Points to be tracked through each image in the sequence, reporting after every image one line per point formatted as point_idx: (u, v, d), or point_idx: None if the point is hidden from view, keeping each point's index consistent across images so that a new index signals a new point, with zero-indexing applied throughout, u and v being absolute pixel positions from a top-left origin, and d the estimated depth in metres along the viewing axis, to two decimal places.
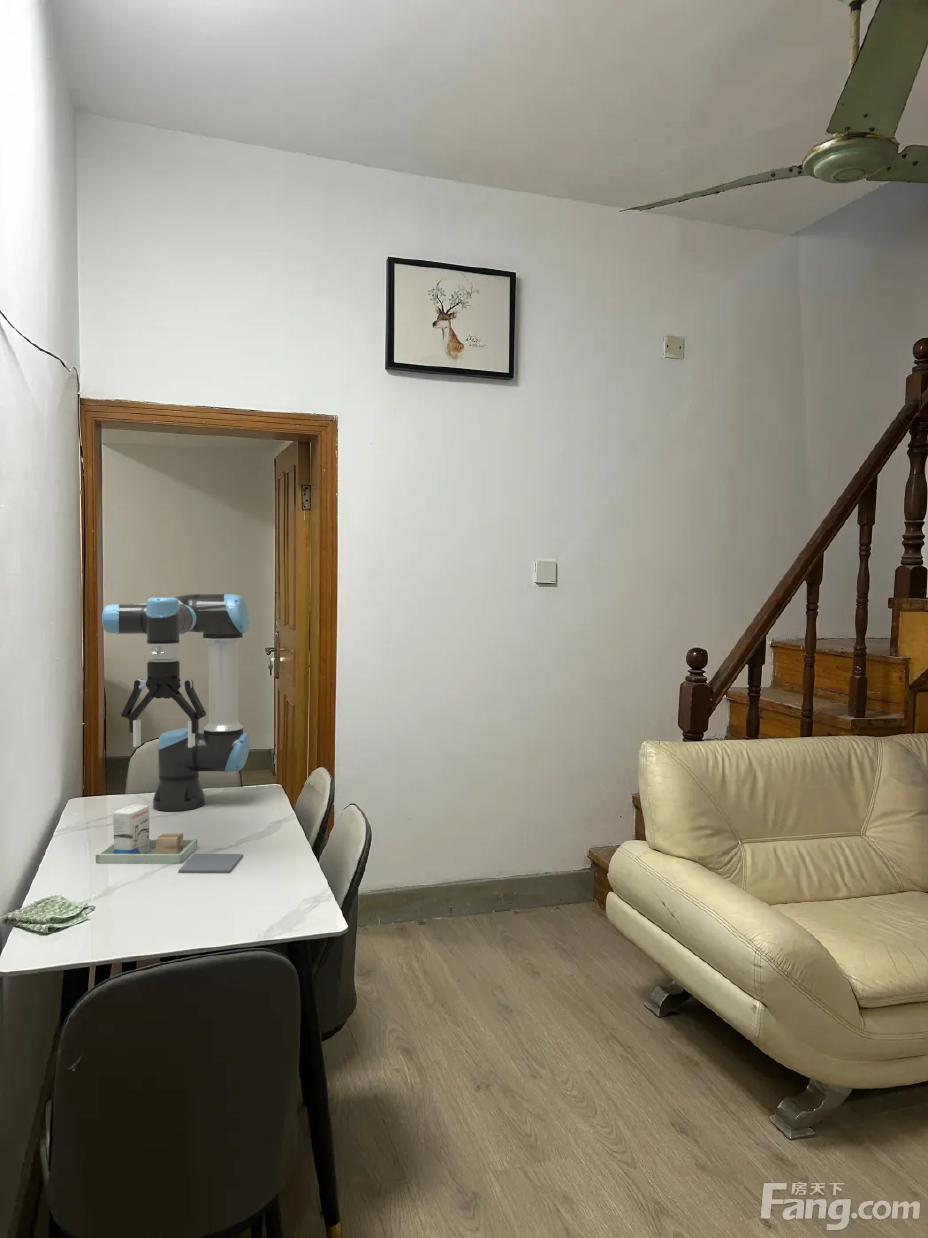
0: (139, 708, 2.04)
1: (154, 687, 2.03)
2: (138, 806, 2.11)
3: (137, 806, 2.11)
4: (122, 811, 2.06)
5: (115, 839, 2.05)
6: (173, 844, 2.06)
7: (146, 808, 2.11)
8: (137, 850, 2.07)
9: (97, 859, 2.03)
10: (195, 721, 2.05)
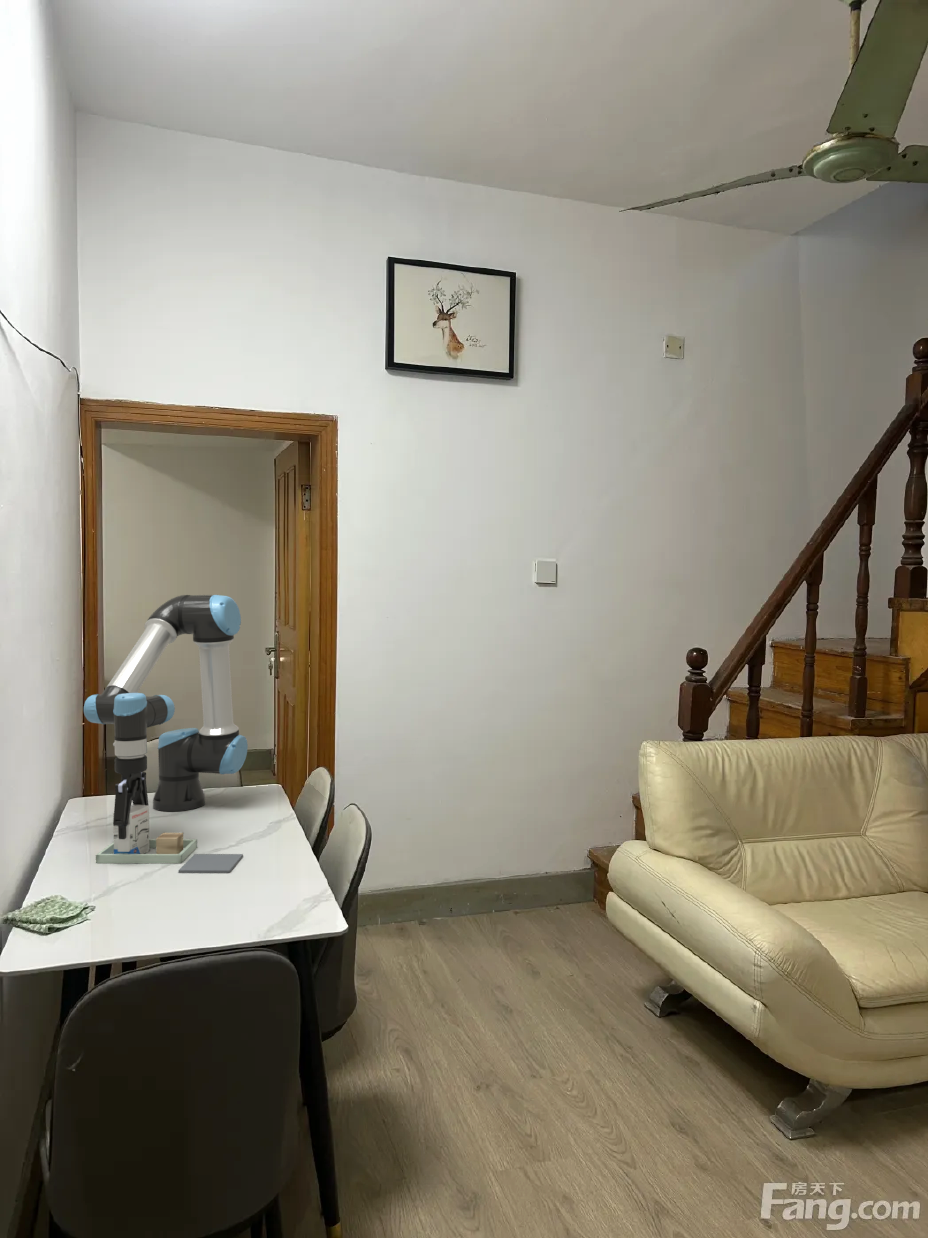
0: None
1: None
2: (138, 806, 2.11)
3: (137, 806, 2.11)
4: None
5: (115, 839, 2.05)
6: (173, 844, 2.06)
7: (146, 808, 2.11)
8: (137, 849, 2.07)
9: (97, 859, 2.03)
10: None
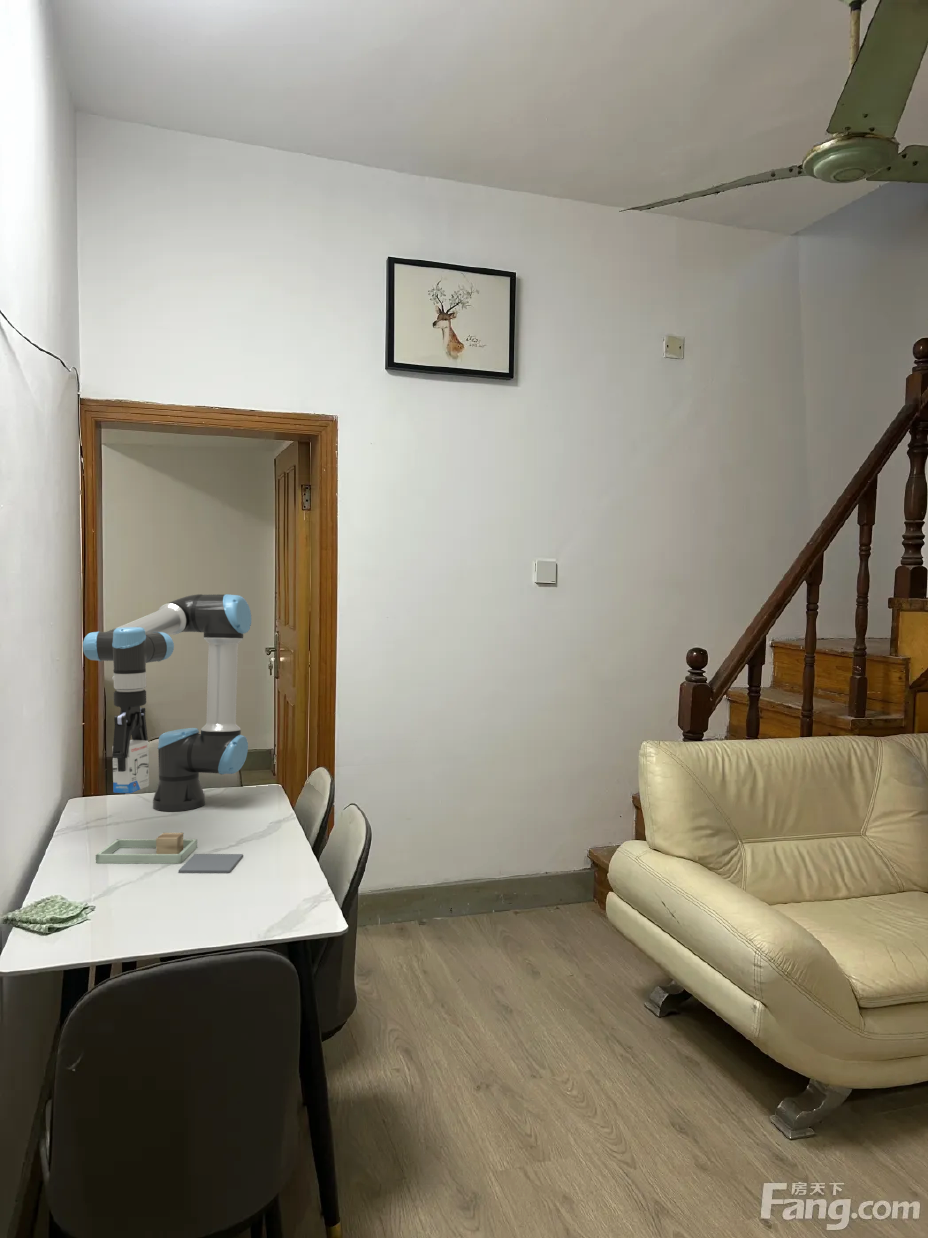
0: None
1: None
2: (137, 741, 2.10)
3: (136, 741, 2.10)
4: None
5: (114, 772, 2.04)
6: (173, 844, 2.06)
7: (145, 743, 2.10)
8: (137, 783, 2.07)
9: (97, 859, 2.03)
10: None
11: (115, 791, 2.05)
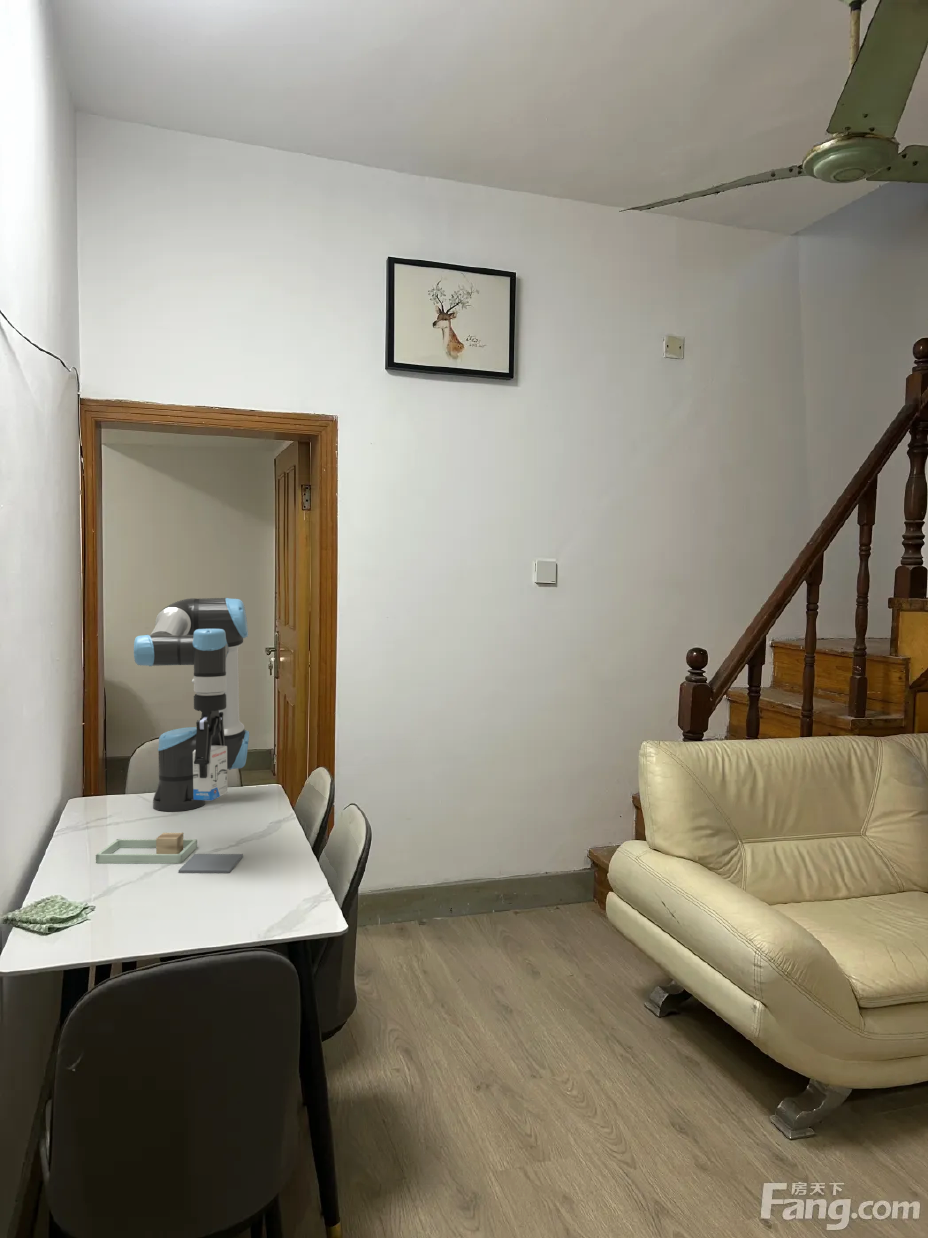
0: None
1: None
2: (216, 746, 2.03)
3: (215, 746, 2.03)
4: None
5: (195, 778, 1.97)
6: (173, 844, 2.06)
7: (224, 748, 2.03)
8: (217, 790, 2.00)
9: (97, 859, 2.03)
10: None
11: (195, 798, 1.98)
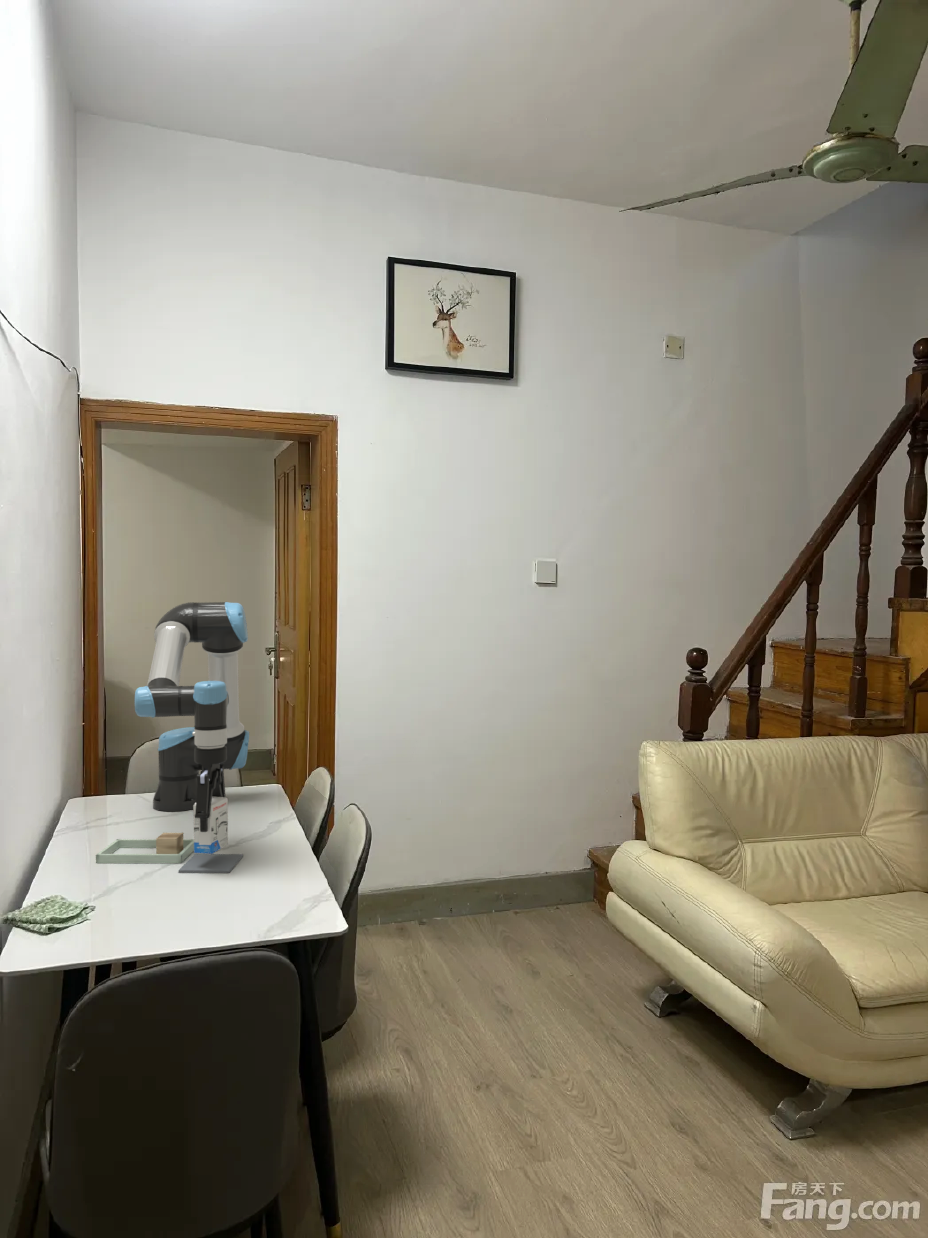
0: None
1: None
2: (217, 798, 2.04)
3: (216, 798, 2.04)
4: None
5: (195, 832, 1.98)
6: (173, 844, 2.06)
7: (225, 800, 2.04)
8: (218, 843, 2.00)
9: (97, 859, 2.03)
10: None
11: (196, 851, 1.98)
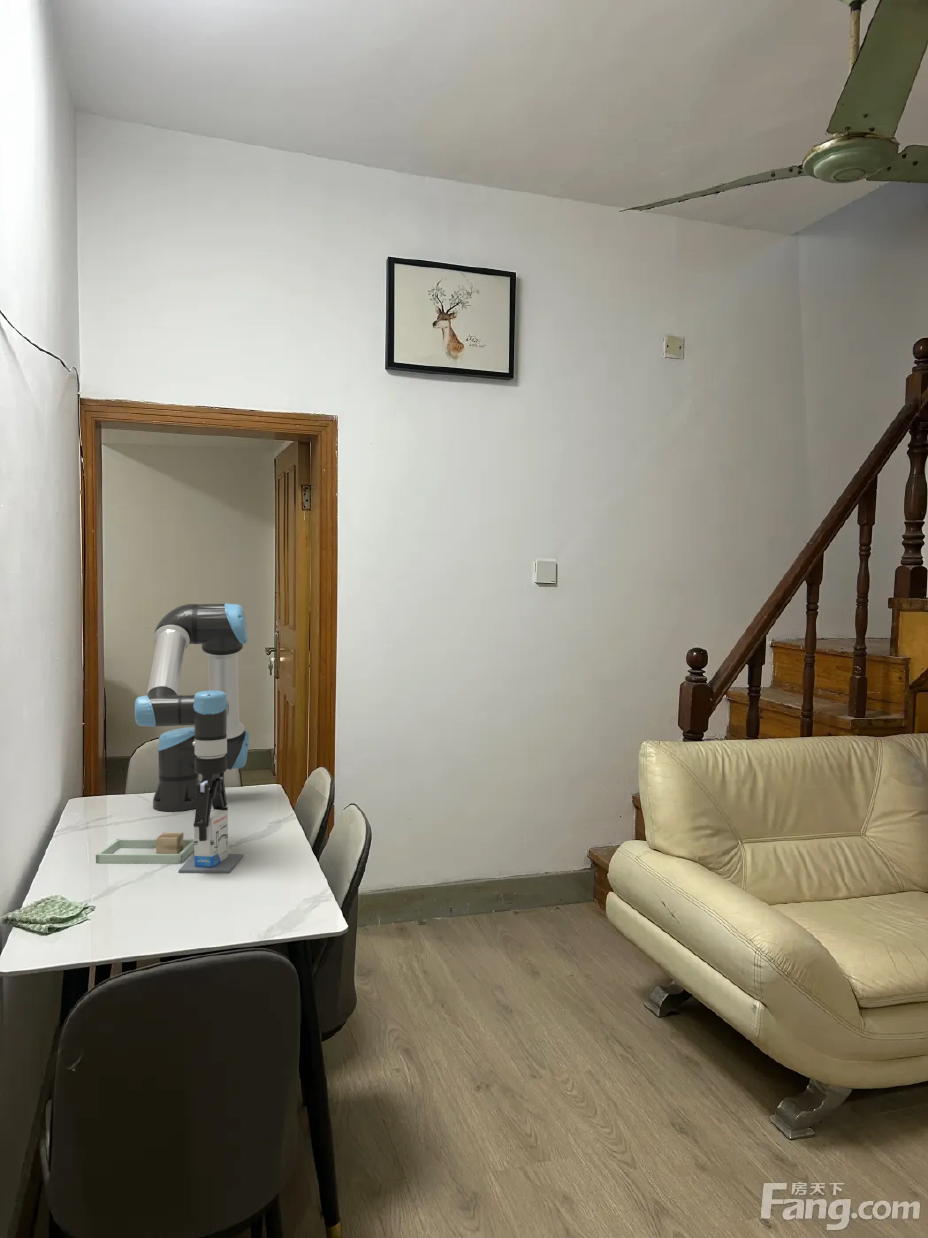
0: None
1: None
2: (217, 811, 2.04)
3: (216, 811, 2.04)
4: None
5: (196, 845, 1.98)
6: (173, 844, 2.06)
7: (225, 813, 2.04)
8: (218, 856, 2.01)
9: (97, 859, 2.03)
10: None
11: (196, 865, 1.98)
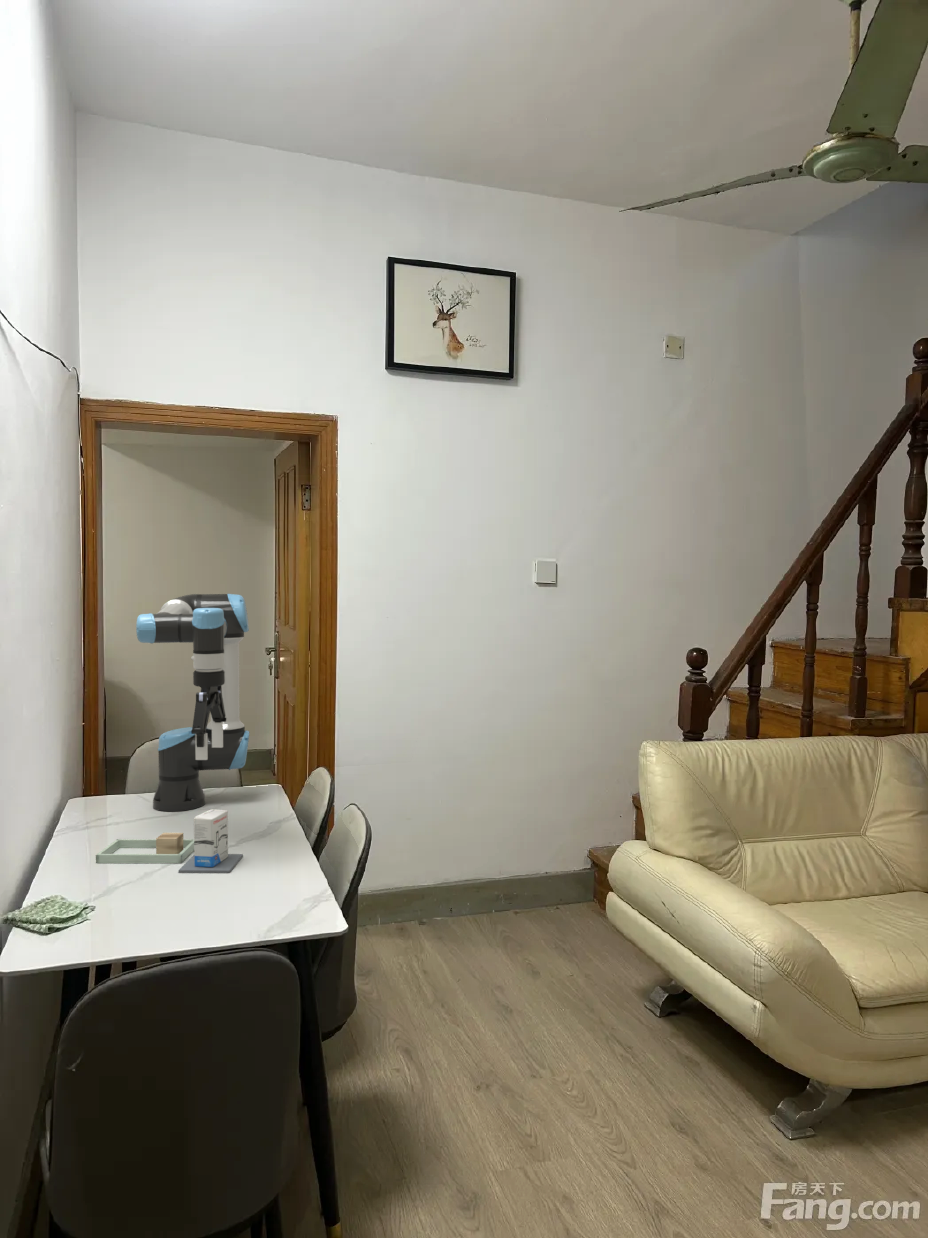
0: None
1: None
2: (217, 811, 2.04)
3: (216, 811, 2.04)
4: (202, 817, 1.99)
5: (196, 845, 1.98)
6: (173, 844, 2.06)
7: (225, 813, 2.04)
8: (218, 856, 2.01)
9: (97, 859, 2.03)
10: None
11: (196, 865, 1.98)
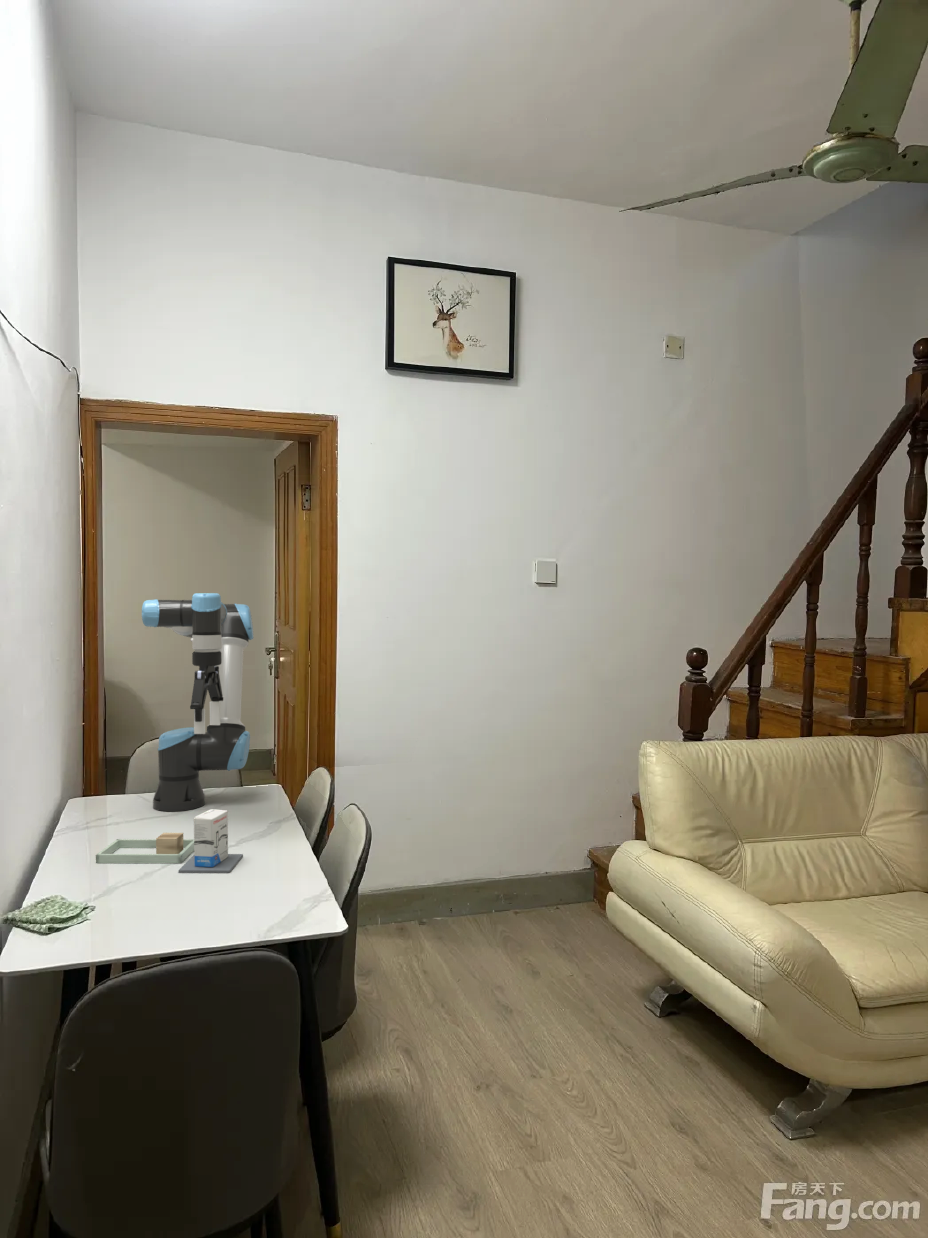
0: None
1: None
2: (217, 811, 2.04)
3: (216, 811, 2.04)
4: (202, 817, 1.99)
5: (196, 845, 1.98)
6: (173, 844, 2.06)
7: (225, 813, 2.04)
8: (218, 856, 2.01)
9: (97, 859, 2.03)
10: None
11: (196, 865, 1.98)
